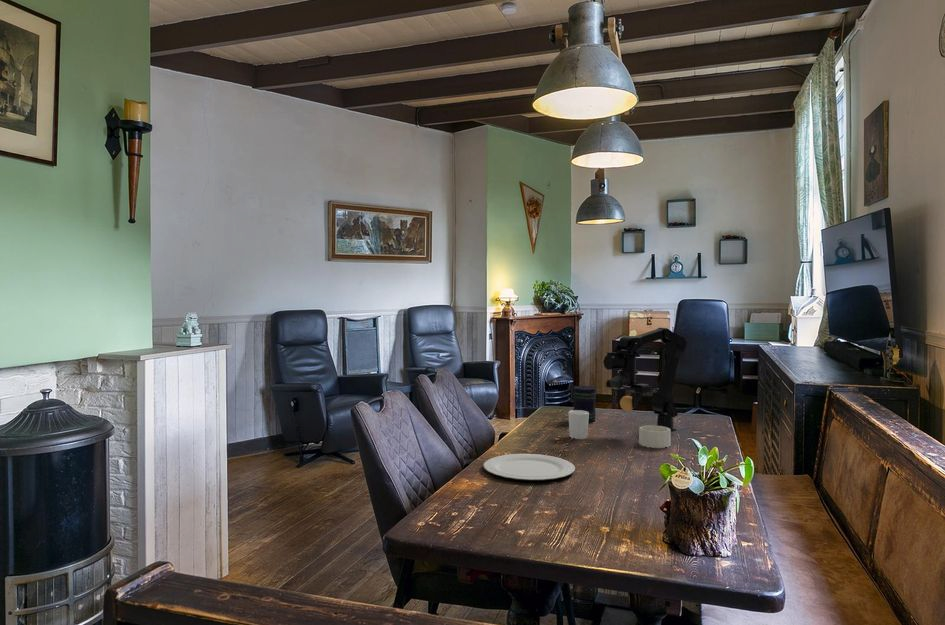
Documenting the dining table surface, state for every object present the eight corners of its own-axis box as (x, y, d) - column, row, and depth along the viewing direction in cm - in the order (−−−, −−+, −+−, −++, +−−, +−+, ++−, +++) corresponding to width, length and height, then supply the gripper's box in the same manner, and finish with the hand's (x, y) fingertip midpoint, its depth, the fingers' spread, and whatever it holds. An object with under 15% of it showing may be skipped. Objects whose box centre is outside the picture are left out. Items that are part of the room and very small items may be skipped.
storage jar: (597, 423, 271) (597, 389, 270) (574, 423, 271) (575, 389, 270) (593, 419, 281) (593, 385, 280) (571, 418, 281) (571, 385, 280)
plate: (582, 463, 208) (582, 458, 208) (565, 489, 181) (565, 483, 181) (498, 455, 218) (498, 450, 218) (470, 479, 190) (470, 473, 190)
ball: (626, 408, 254) (627, 394, 254) (638, 411, 249) (638, 396, 249) (616, 410, 251) (616, 395, 251) (628, 412, 246) (628, 397, 246)
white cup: (587, 435, 249) (588, 410, 248) (589, 440, 241) (589, 414, 240) (567, 434, 249) (567, 409, 249) (568, 439, 241) (569, 413, 241)
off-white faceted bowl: (652, 439, 242) (652, 424, 242) (676, 445, 233) (676, 429, 233) (633, 443, 236) (633, 427, 236) (656, 449, 227) (657, 433, 226)
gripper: (596, 367, 253) (596, 405, 253) (632, 372, 237) (632, 413, 238) (615, 365, 259) (615, 403, 259) (652, 370, 244) (651, 410, 244)
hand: (627, 407), depth 250 cm, fingers closed on ball, 6 cm apart
